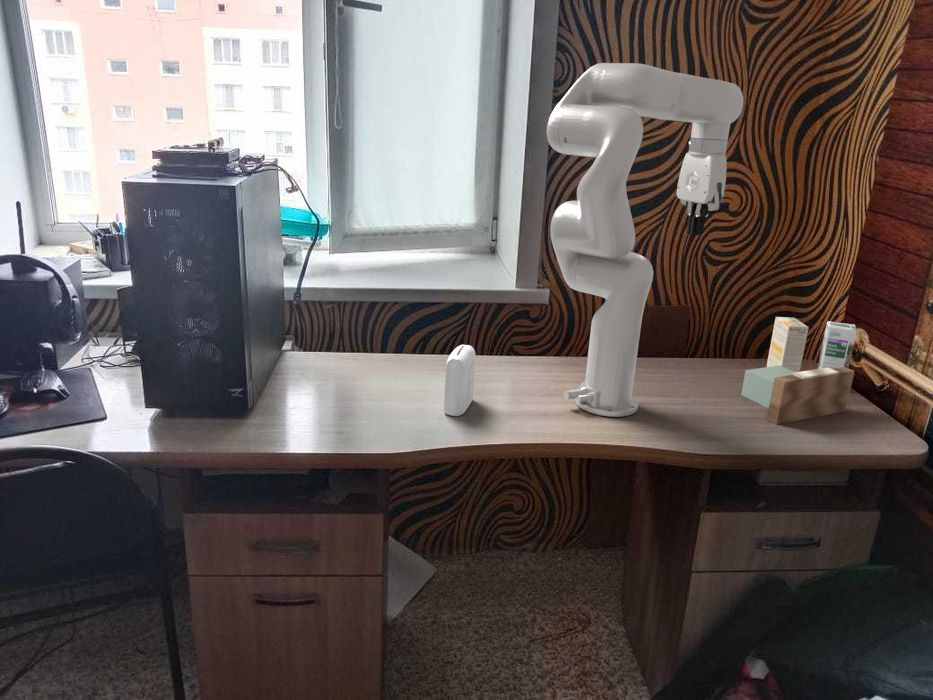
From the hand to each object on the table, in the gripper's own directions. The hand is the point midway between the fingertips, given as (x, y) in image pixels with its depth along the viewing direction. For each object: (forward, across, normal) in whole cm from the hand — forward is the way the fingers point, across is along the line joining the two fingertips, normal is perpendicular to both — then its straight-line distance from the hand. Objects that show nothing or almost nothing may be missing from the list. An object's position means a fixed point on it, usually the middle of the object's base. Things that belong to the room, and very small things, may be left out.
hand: (694, 234), depth 163 cm
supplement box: (+32, +10, +24) cm, 41 cm away
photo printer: (+32, +3, -57) cm, 66 cm away
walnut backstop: (+32, +30, +9) cm, 45 cm away
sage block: (+32, +23, +9) cm, 41 cm away
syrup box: (+32, +19, +29) cm, 47 cm away
